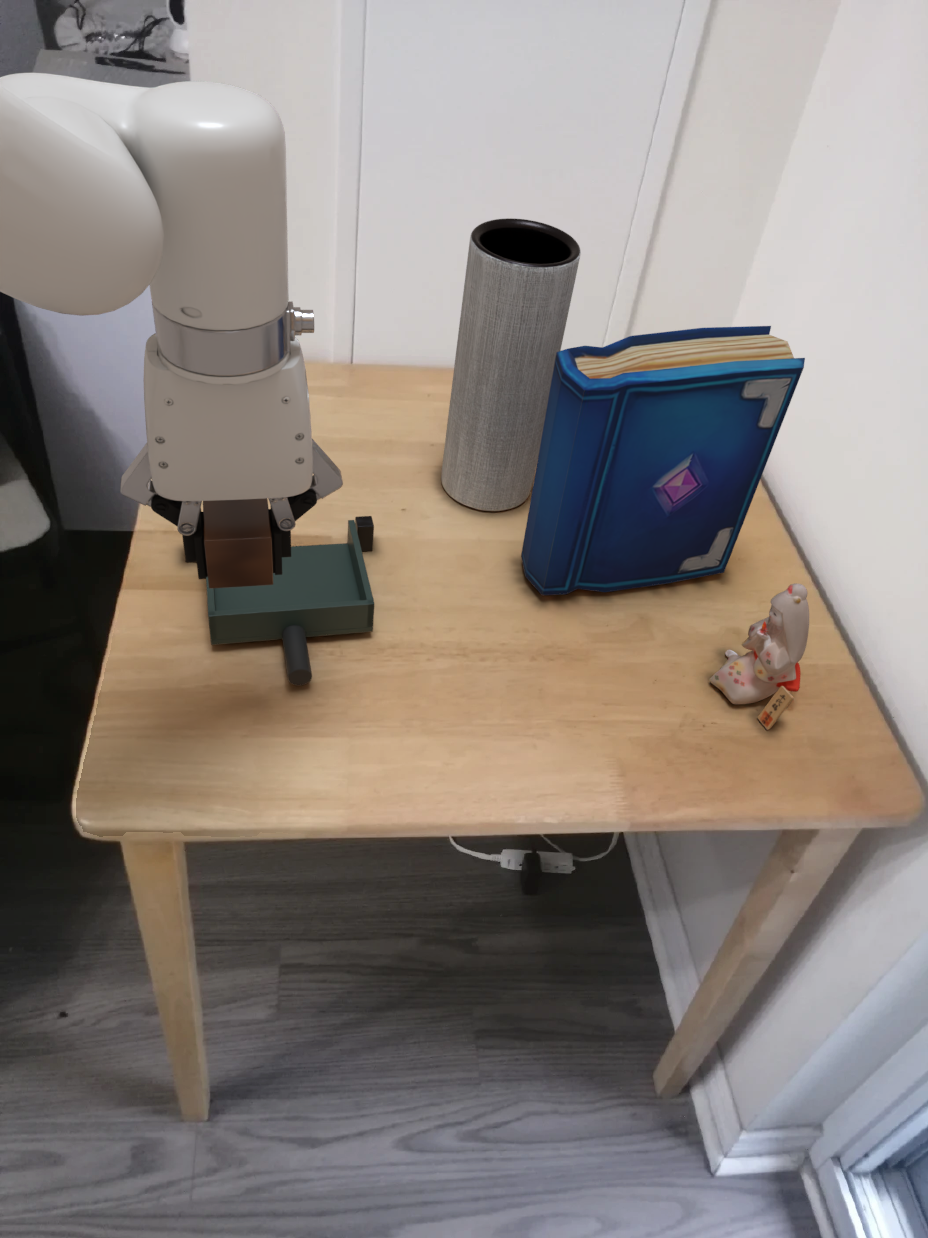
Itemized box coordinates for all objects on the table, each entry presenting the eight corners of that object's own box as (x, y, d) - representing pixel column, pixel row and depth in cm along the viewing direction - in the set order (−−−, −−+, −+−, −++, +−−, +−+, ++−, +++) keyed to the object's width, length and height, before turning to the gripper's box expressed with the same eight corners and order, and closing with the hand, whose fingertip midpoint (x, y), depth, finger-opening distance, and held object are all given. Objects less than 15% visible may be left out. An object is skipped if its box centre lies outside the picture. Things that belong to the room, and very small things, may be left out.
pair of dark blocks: (185, 551, 89) (181, 525, 87) (370, 540, 94) (371, 515, 91) (185, 562, 88) (182, 536, 86) (372, 550, 93) (374, 525, 90)
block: (208, 588, 65) (203, 540, 62) (207, 547, 68) (202, 499, 65) (273, 585, 66) (271, 537, 63) (269, 544, 69) (267, 496, 66)
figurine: (692, 659, 87) (748, 557, 80) (750, 657, 90) (810, 558, 82) (741, 732, 81) (807, 628, 73) (803, 727, 83) (872, 627, 76)
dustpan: (210, 661, 74) (214, 694, 77) (384, 646, 78) (382, 678, 80) (203, 527, 86) (206, 559, 89) (354, 519, 90) (353, 550, 92)
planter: (515, 454, 107) (560, 217, 88) (542, 509, 101) (597, 265, 82) (430, 459, 105) (458, 216, 86) (453, 516, 98) (488, 266, 79)
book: (530, 609, 89) (584, 377, 72) (505, 560, 94) (550, 331, 76) (725, 579, 96) (818, 360, 78) (692, 535, 100) (773, 318, 83)
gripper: (360, 299, 59) (351, 525, 71) (72, 296, 55) (117, 535, 68) (377, 361, 54) (364, 593, 66) (61, 363, 50) (112, 608, 63)
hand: (239, 561), depth 67 cm, fingers closed on block, 4 cm apart
